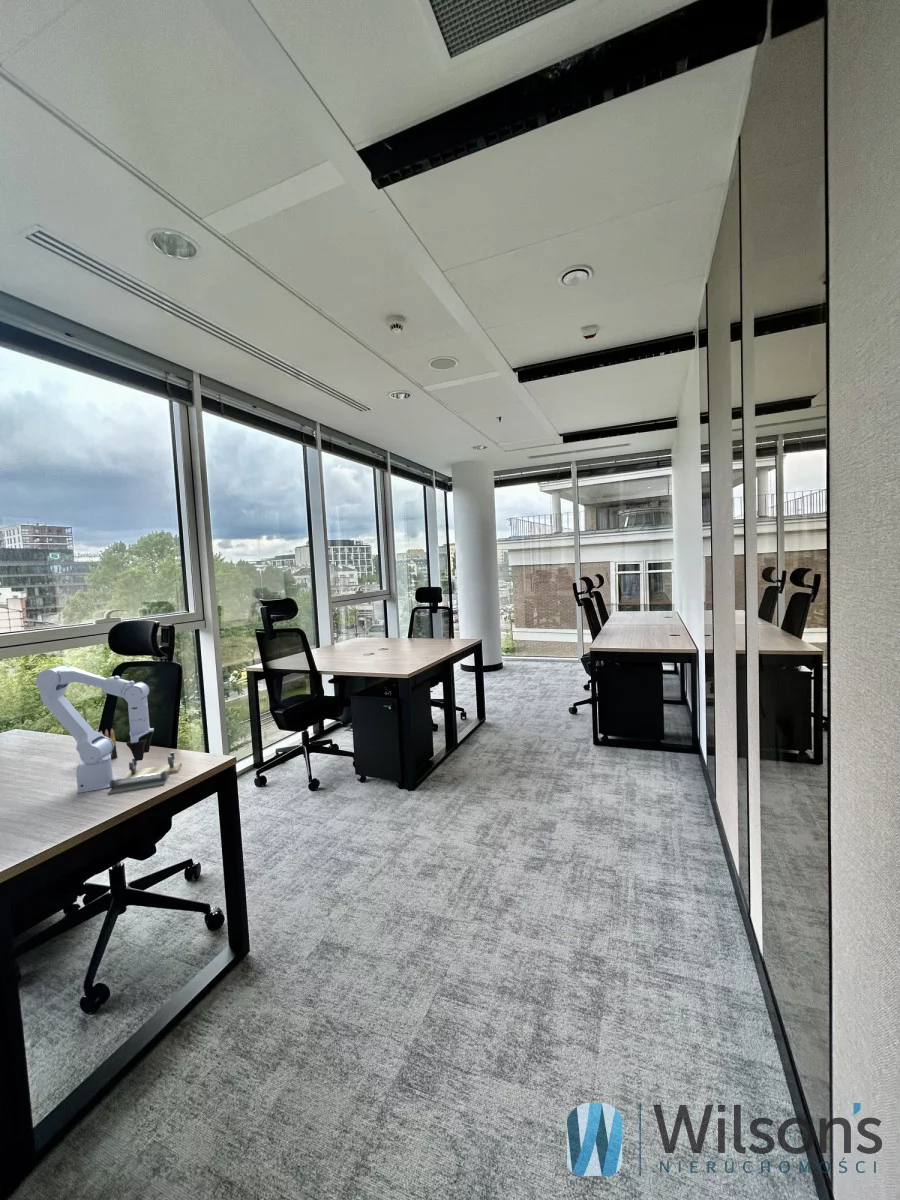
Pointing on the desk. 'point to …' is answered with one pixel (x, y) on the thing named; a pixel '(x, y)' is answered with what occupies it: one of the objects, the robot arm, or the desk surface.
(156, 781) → the rubber mat
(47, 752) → the desk surface
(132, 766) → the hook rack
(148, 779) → the rail
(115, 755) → the ammunition clip
